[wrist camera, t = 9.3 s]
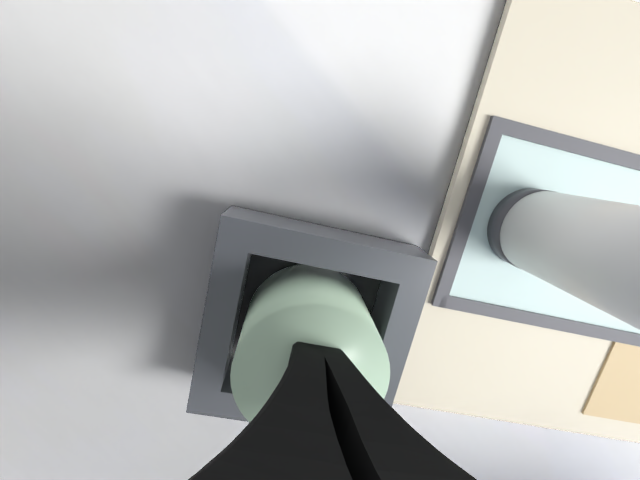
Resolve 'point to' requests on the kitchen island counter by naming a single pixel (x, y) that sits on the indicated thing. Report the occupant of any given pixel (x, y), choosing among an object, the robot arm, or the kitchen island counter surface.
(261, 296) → the button
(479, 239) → the sheet
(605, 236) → the marker
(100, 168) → the kitchen island counter surface
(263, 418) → the robot arm
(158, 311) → the kitchen island counter surface
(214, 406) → the button housing
